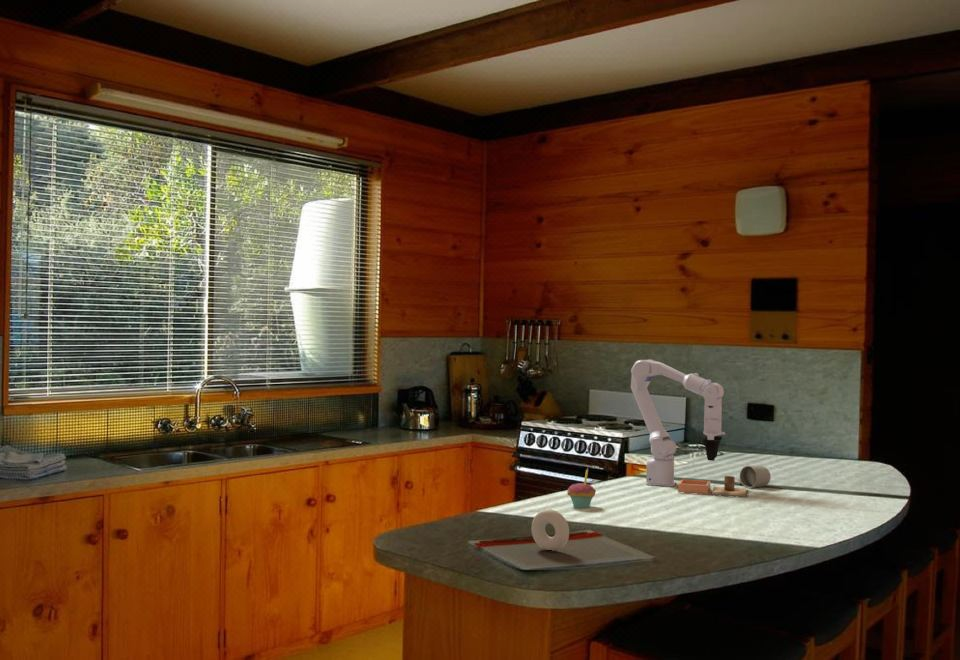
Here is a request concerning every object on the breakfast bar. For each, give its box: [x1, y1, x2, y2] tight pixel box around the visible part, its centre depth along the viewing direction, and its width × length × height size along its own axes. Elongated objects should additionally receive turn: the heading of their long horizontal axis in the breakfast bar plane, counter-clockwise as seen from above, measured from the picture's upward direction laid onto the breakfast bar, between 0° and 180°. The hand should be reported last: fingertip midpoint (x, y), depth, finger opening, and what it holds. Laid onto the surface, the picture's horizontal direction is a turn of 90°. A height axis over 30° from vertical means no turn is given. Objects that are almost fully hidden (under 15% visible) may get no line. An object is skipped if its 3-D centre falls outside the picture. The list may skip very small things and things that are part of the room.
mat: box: [711, 489, 749, 498], centre depth 291 cm, size 11×13×1 cm
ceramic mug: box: [737, 465, 772, 489], centre depth 305 cm, size 11×8×8 cm
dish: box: [677, 478, 711, 495], centre depth 294 cm, size 10×10×3 cm
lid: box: [711, 475, 747, 496], centre depth 291 cm, size 10×10×5 cm
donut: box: [530, 508, 570, 552], centre depth 211 cm, size 10×4×10 cm, turn 56°
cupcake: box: [566, 467, 597, 509], centre depth 266 cm, size 9×8×12 cm
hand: (712, 458), depth 298 cm, fingers open, 7 cm apart
